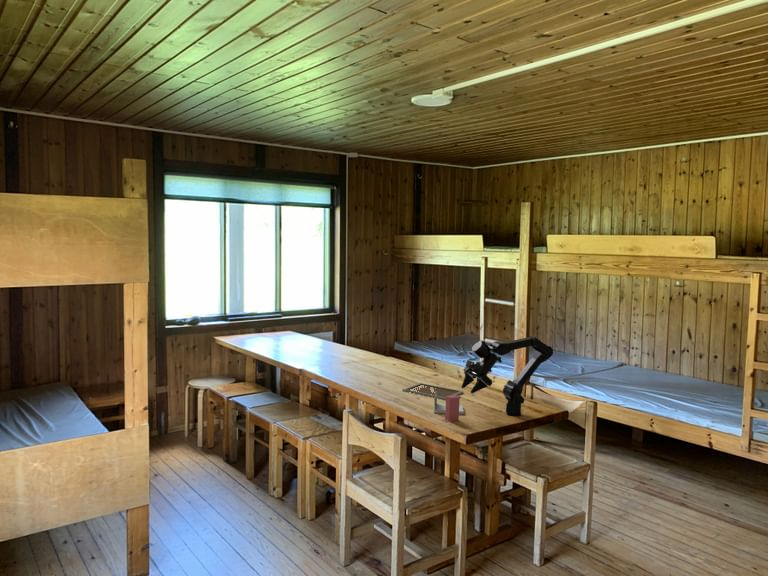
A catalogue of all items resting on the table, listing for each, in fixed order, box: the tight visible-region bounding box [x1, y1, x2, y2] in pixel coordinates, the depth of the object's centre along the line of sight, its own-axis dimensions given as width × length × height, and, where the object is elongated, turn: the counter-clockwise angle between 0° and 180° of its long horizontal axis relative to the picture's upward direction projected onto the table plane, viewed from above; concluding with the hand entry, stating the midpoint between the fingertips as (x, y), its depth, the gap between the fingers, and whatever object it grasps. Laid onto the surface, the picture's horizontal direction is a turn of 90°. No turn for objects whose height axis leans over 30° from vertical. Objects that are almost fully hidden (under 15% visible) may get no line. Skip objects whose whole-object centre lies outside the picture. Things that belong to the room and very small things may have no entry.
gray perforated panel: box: [402, 382, 464, 401], centre depth 309 cm, size 19×2×30 cm
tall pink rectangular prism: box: [444, 395, 461, 422], centre depth 261 cm, size 5×4×11 cm
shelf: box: [433, 391, 465, 415], centre depth 277 cm, size 14×12×8 cm
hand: (466, 390), depth 265 cm, fingers open, 9 cm apart
